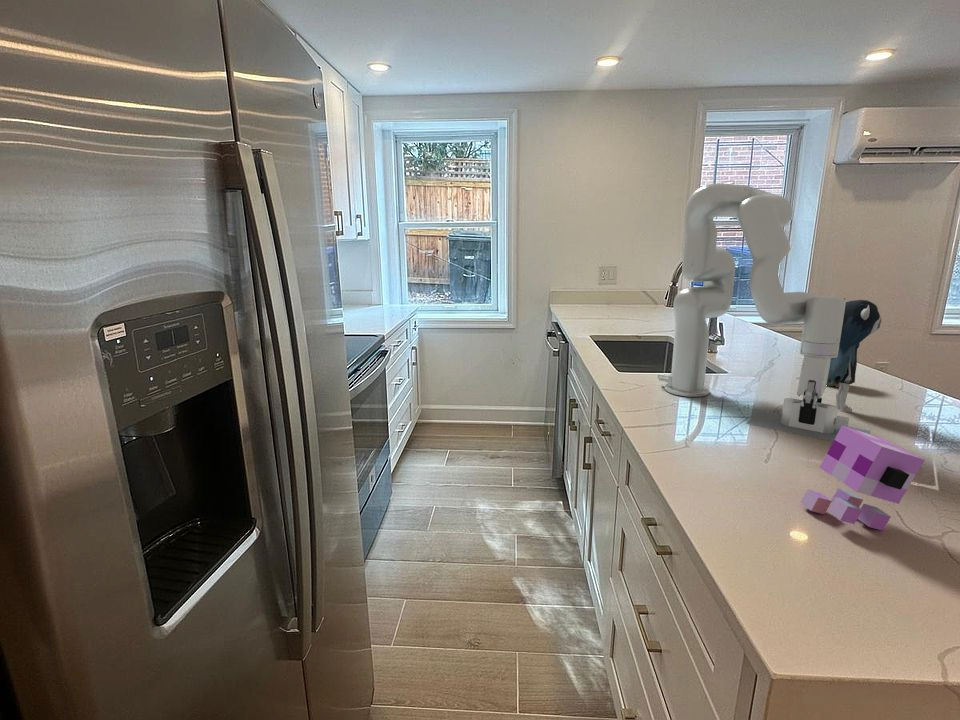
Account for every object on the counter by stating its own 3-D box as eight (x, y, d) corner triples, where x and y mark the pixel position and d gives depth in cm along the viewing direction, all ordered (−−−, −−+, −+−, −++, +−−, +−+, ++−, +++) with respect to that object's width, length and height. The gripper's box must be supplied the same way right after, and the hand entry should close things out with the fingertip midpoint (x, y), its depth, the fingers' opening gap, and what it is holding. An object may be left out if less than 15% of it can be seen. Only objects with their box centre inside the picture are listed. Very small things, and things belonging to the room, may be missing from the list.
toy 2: (795, 498, 89) (835, 422, 85) (833, 508, 90) (874, 434, 86) (841, 534, 78) (889, 450, 75) (883, 546, 80) (933, 463, 76)
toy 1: (875, 421, 127) (898, 303, 120) (828, 419, 129) (847, 302, 122) (849, 404, 140) (867, 297, 133) (806, 402, 142) (822, 296, 135)
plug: (779, 424, 124) (782, 401, 123) (782, 419, 127) (785, 397, 126) (845, 437, 116) (849, 412, 115) (847, 432, 119) (851, 408, 118)
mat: (745, 425, 125) (746, 423, 125) (757, 412, 135) (757, 409, 135) (866, 450, 110) (866, 447, 110) (869, 432, 120) (869, 430, 120)
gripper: (805, 341, 127) (797, 405, 131) (794, 353, 114) (784, 424, 118) (842, 344, 122) (831, 411, 126) (834, 357, 109) (823, 431, 113)
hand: (809, 417), depth 122 cm, fingers open, 9 cm apart
